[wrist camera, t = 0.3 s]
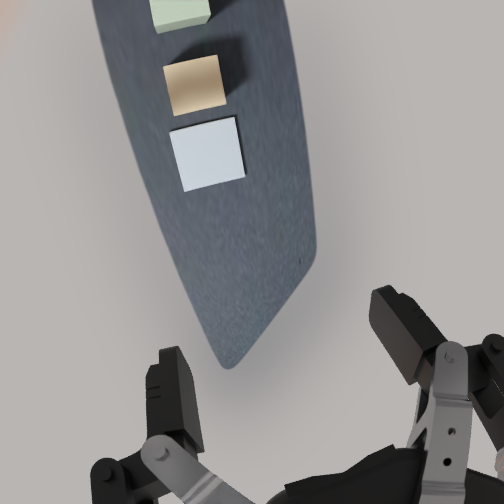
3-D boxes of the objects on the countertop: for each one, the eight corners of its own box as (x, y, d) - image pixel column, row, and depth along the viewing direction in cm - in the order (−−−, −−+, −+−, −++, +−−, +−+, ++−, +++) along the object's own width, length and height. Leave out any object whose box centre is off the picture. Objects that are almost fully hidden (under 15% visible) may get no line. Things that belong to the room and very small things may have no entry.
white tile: (169, 131, 31) (169, 132, 31) (233, 116, 32) (234, 117, 32) (184, 190, 35) (184, 191, 35) (244, 175, 36) (245, 176, 36)
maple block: (164, 68, 28) (163, 66, 24) (212, 57, 28) (217, 54, 25) (174, 111, 30) (174, 116, 27) (220, 101, 31) (226, 104, 28)
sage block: (150, -7, 23) (146, -20, 19) (198, -17, 23) (202, -31, 19) (157, 33, 25) (154, 26, 21) (205, 23, 26) (210, 14, 22)
